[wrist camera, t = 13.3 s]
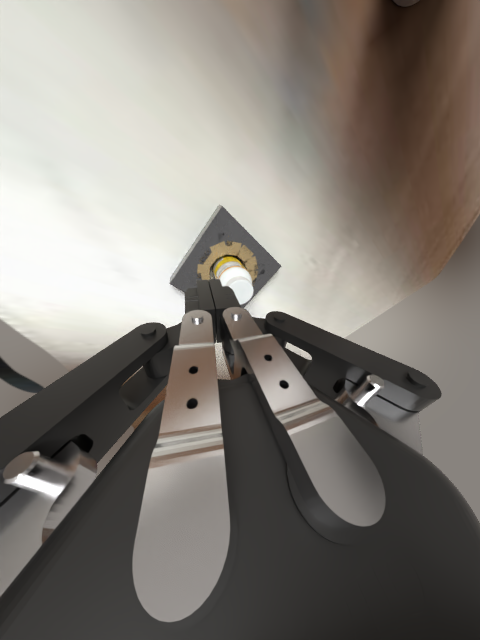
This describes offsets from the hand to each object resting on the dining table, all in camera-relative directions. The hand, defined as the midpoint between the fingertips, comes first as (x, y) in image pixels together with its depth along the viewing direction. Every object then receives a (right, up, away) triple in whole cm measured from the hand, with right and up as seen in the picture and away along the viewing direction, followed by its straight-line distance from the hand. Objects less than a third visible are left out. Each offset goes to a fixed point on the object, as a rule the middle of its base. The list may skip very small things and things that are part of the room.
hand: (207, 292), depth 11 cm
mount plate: (0, +8, +20) cm, 21 cm away
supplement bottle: (0, +8, +20) cm, 22 cm away
